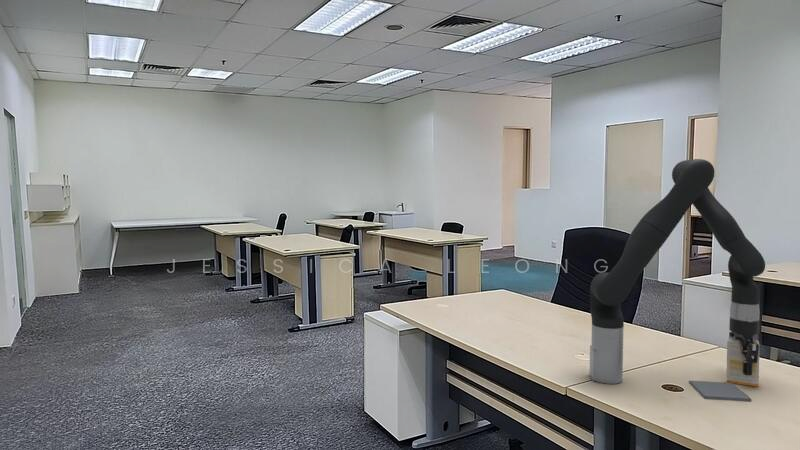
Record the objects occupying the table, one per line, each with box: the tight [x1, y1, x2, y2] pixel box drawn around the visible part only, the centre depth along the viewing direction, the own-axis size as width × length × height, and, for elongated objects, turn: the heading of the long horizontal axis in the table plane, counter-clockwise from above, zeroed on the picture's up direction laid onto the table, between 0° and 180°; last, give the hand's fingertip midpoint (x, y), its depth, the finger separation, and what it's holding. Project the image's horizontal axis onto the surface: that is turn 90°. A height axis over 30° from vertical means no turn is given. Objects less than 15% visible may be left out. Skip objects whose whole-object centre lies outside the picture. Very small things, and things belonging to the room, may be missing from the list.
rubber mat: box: [688, 380, 752, 402], centre depth 153 cm, size 12×12×1 cm
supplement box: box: [726, 336, 761, 388], centre depth 160 cm, size 8×5×13 cm, turn 58°
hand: (742, 370), depth 160 cm, fingers closed on supplement box, 6 cm apart
